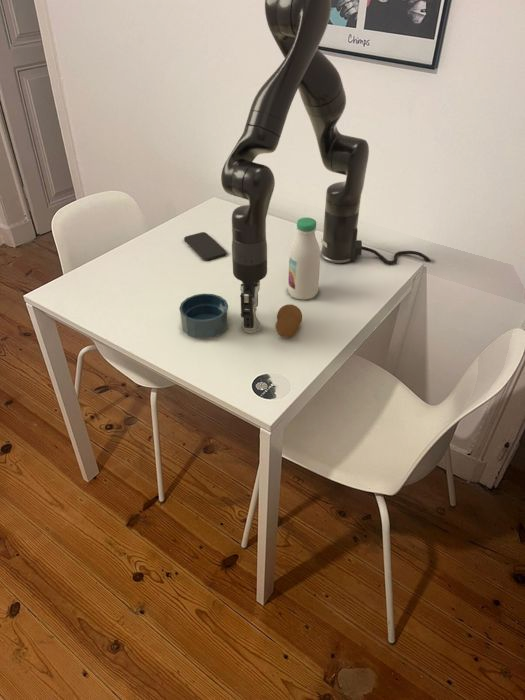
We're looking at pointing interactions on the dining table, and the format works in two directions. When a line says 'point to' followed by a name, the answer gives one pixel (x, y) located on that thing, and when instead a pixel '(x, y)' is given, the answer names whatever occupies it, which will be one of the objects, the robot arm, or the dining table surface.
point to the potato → (288, 320)
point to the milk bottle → (304, 261)
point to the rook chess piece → (256, 323)
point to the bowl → (204, 315)
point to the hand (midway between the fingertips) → (251, 316)
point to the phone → (204, 246)
